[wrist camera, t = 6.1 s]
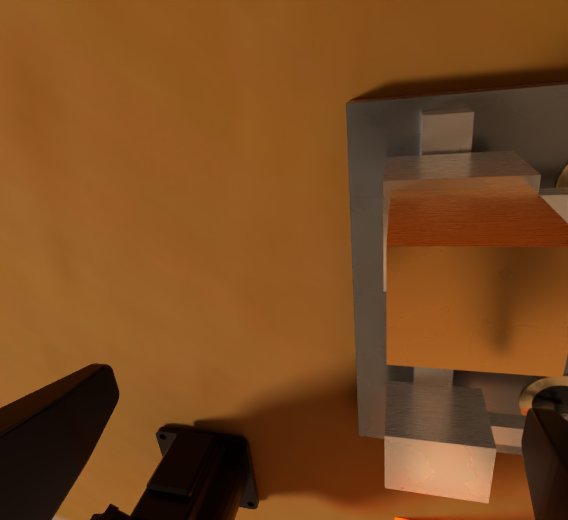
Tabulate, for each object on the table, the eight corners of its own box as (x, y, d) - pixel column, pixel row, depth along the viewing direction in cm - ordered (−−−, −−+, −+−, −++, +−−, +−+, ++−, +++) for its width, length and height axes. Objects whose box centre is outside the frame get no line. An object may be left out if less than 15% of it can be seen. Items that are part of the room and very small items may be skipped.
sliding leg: (609, 239, 15) (801, 408, 8) (387, 239, 17) (377, 373, 10) (633, 137, 14) (897, 229, 6) (387, 150, 16) (375, 232, 8)
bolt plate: (604, 440, 21) (672, 566, 16) (361, 414, 24) (350, 513, 19) (715, 67, 14) (901, 75, 9) (350, 99, 17) (328, 119, 12)
